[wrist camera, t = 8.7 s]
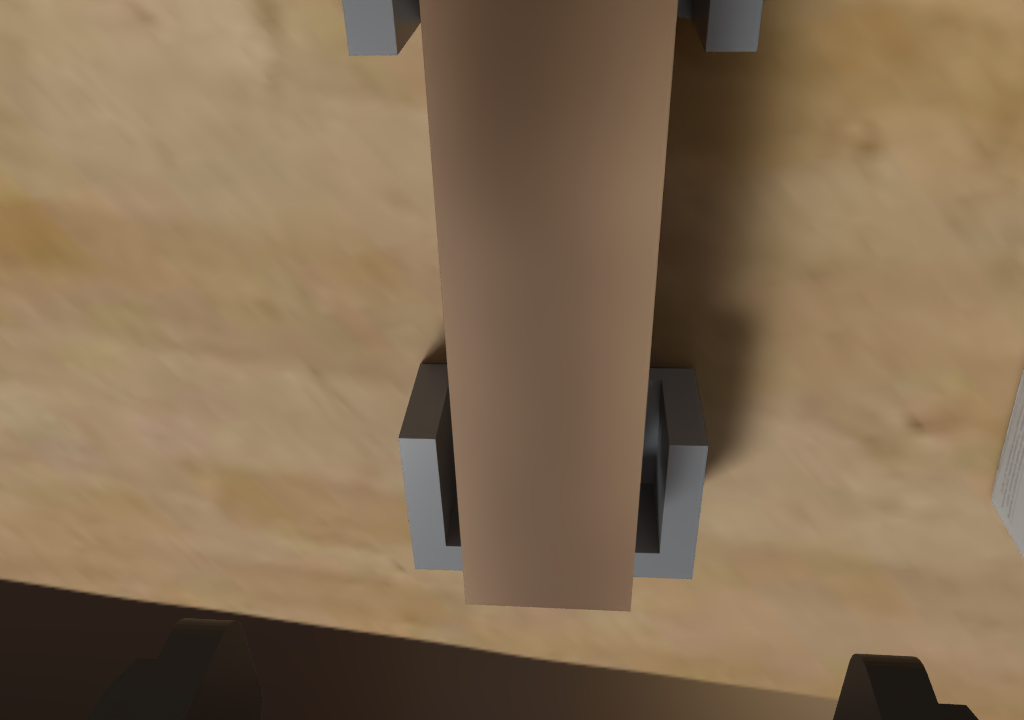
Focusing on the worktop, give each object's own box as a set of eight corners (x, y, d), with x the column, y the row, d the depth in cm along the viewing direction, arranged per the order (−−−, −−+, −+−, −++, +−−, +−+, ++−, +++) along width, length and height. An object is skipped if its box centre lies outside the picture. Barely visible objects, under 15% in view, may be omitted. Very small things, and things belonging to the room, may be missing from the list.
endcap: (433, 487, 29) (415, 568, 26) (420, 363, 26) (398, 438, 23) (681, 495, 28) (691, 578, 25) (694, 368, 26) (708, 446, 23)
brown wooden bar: (659, -133, 18) (685, -102, 13) (623, 458, 27) (630, 611, 22) (460, -129, 18) (412, -96, 13) (488, 454, 27) (465, 604, 22)
